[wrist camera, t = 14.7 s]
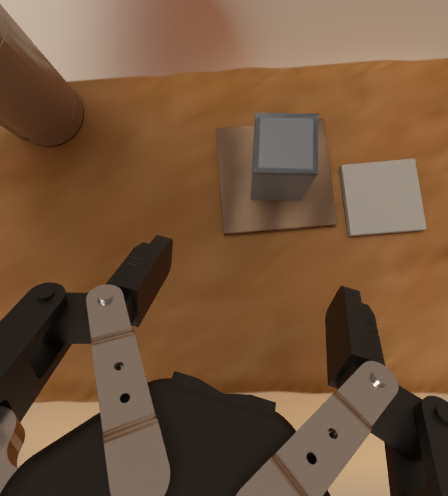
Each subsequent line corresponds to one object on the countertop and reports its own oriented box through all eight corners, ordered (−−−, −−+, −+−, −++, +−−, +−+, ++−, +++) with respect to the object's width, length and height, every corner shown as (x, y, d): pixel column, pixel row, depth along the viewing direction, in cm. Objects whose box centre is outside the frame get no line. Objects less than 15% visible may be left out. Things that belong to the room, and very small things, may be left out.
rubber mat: (347, 236, 38) (350, 235, 37) (339, 168, 39) (341, 165, 38) (421, 230, 38) (426, 229, 37) (410, 161, 39) (414, 158, 38)
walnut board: (224, 234, 39) (223, 233, 38) (216, 132, 41) (216, 128, 40) (334, 225, 38) (336, 224, 37) (321, 122, 40) (323, 118, 39)
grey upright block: (250, 199, 39) (253, 172, 30) (252, 152, 39) (255, 112, 30) (300, 200, 38) (317, 174, 29) (301, 153, 39) (318, 113, 30)
